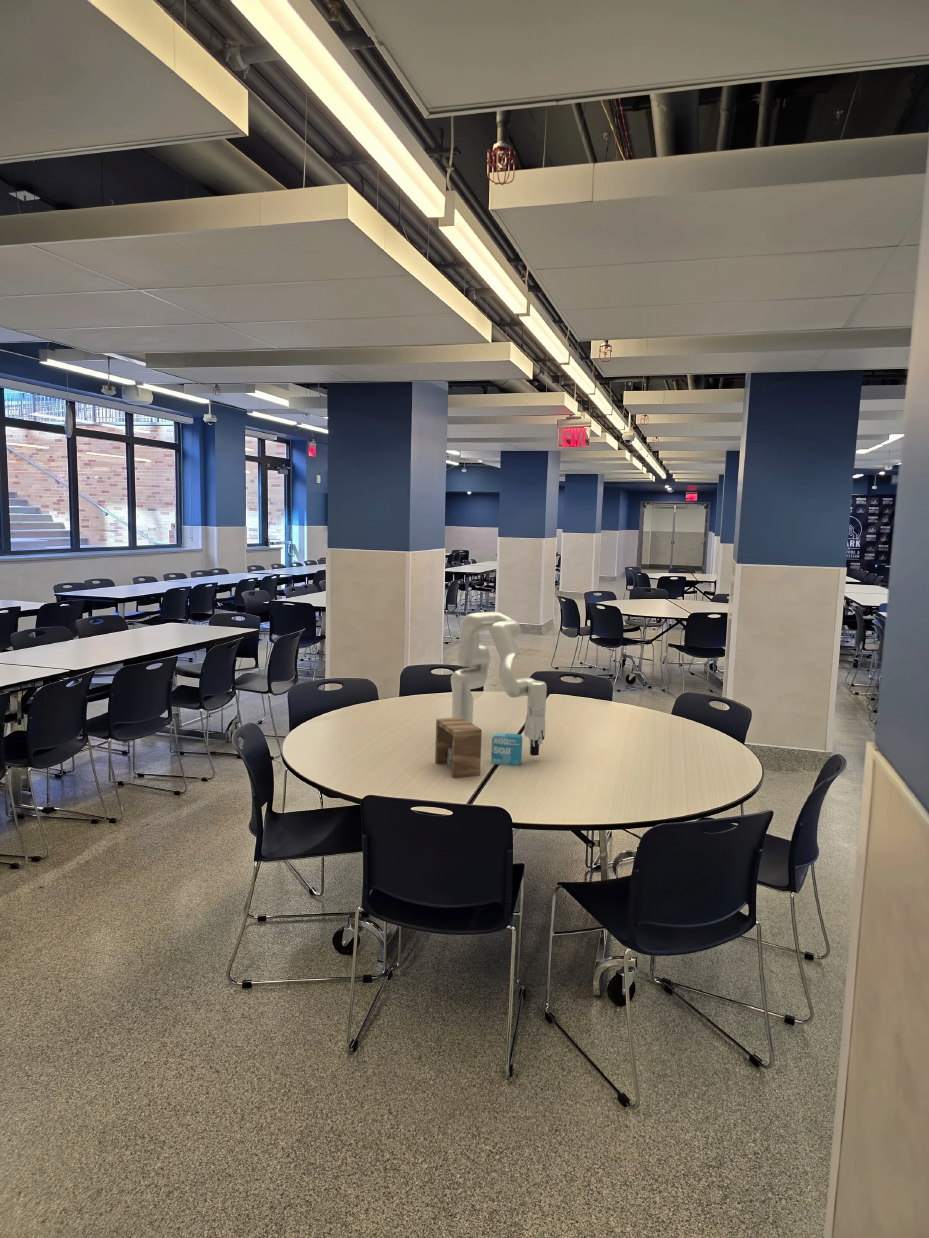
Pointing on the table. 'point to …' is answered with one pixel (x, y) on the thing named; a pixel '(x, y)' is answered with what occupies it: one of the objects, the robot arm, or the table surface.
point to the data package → (506, 749)
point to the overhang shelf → (458, 746)
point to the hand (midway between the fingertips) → (534, 754)
